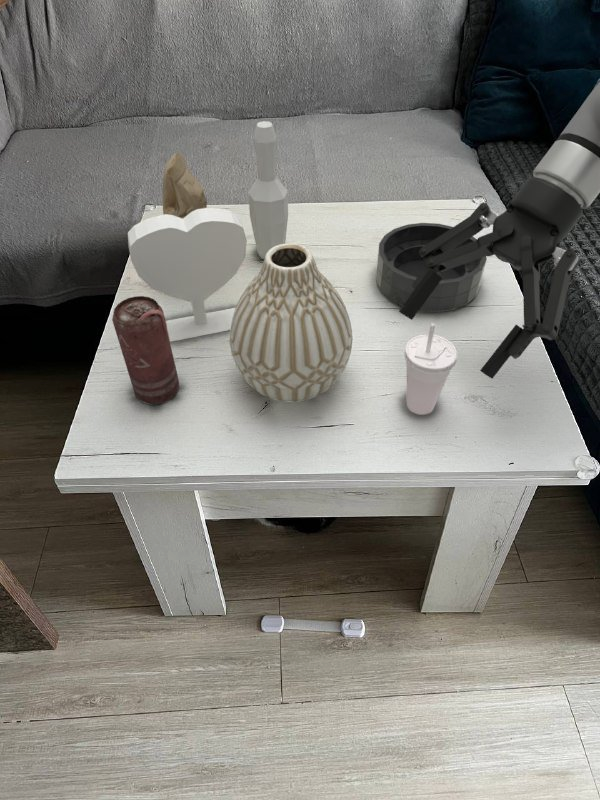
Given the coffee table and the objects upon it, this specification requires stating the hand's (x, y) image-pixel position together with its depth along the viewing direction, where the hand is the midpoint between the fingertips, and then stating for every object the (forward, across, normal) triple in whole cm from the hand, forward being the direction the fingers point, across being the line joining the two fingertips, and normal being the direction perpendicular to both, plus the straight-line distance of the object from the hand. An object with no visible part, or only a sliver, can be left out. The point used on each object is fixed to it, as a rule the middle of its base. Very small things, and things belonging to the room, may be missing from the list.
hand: (443, 344), depth 74 cm
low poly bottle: (+5, +41, -9) cm, 43 cm away
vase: (+16, +14, +2) cm, 22 cm away
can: (+27, +24, +14) cm, 38 cm away
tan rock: (+15, +44, +1) cm, 46 cm away
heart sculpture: (+19, +32, +5) cm, 38 cm away
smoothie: (+8, 0, -5) cm, 10 cm away
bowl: (-6, +19, -19) cm, 27 cm away
